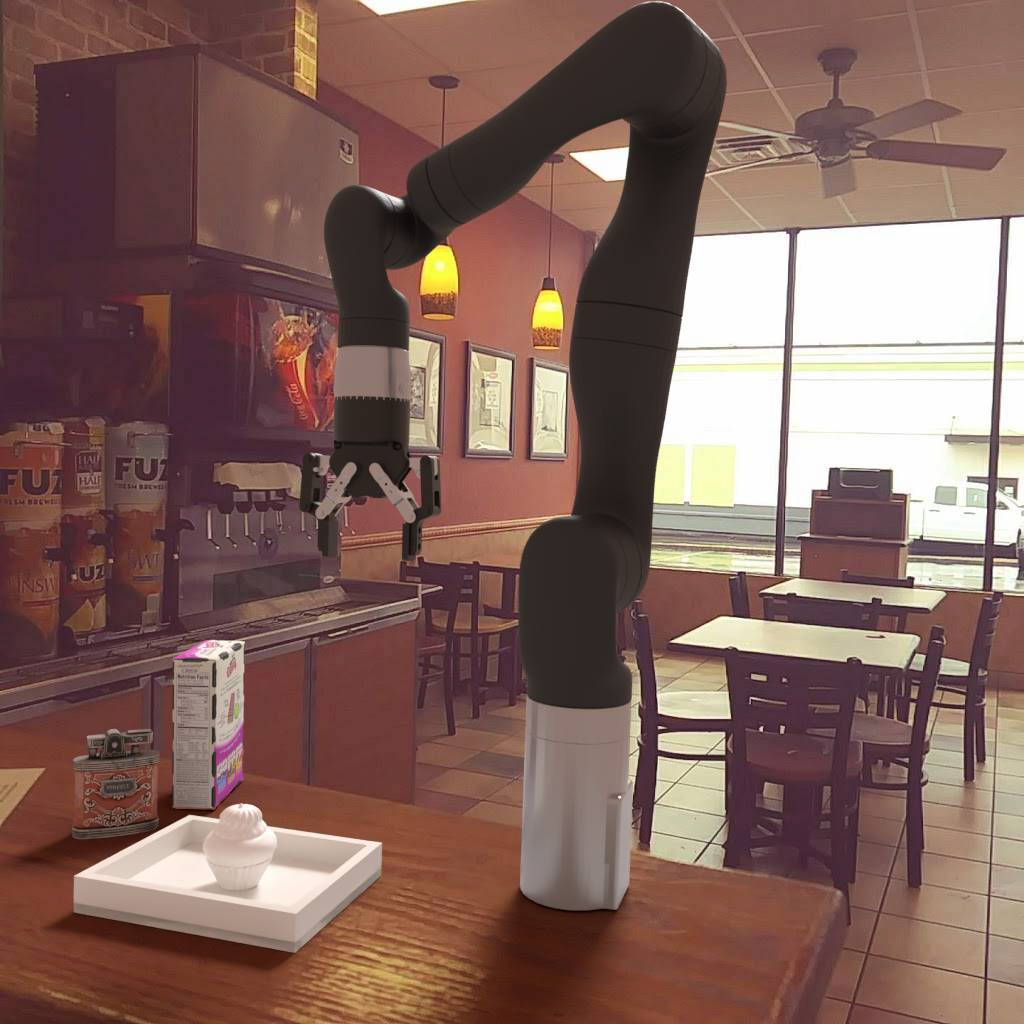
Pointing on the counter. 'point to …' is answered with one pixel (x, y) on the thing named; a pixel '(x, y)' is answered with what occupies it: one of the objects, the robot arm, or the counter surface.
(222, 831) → the muffin
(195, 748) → the candy bar box
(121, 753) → the lighter
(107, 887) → the tray
